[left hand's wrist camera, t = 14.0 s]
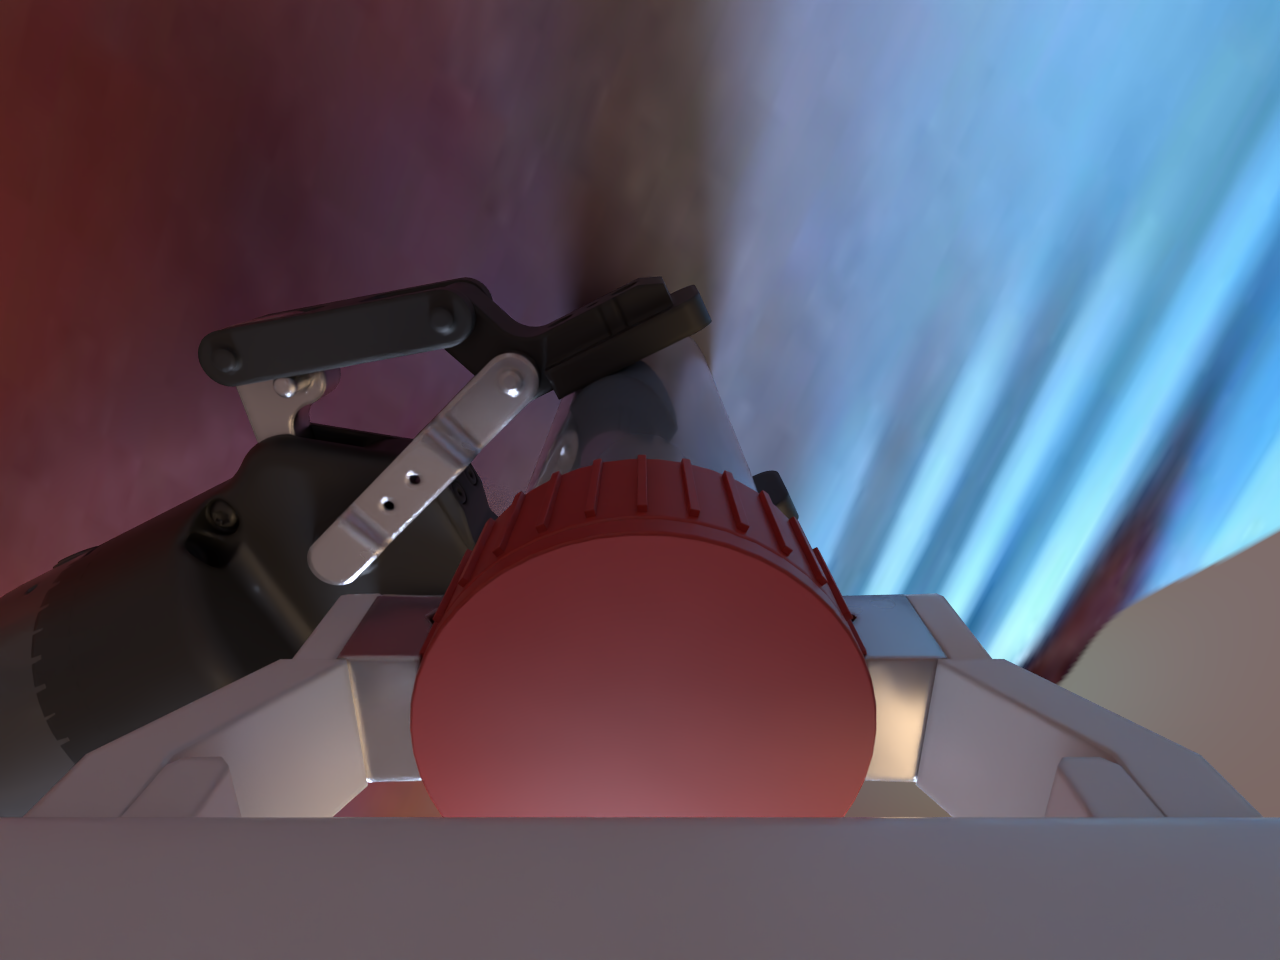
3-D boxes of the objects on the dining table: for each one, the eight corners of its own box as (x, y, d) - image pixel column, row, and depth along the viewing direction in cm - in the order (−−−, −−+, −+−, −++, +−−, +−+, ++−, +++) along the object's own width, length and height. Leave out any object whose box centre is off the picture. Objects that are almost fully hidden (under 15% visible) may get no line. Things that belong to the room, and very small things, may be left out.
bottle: (647, 286, 22) (660, 459, 8) (738, 391, 24) (902, 717, 9) (543, 380, 24) (379, 693, 9) (635, 477, 25) (629, 895, 10)
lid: (385, 521, 10) (315, 611, 8) (781, 396, 9) (823, 456, 7) (533, 816, 12) (509, 954, 9) (870, 729, 11) (925, 857, 9)
